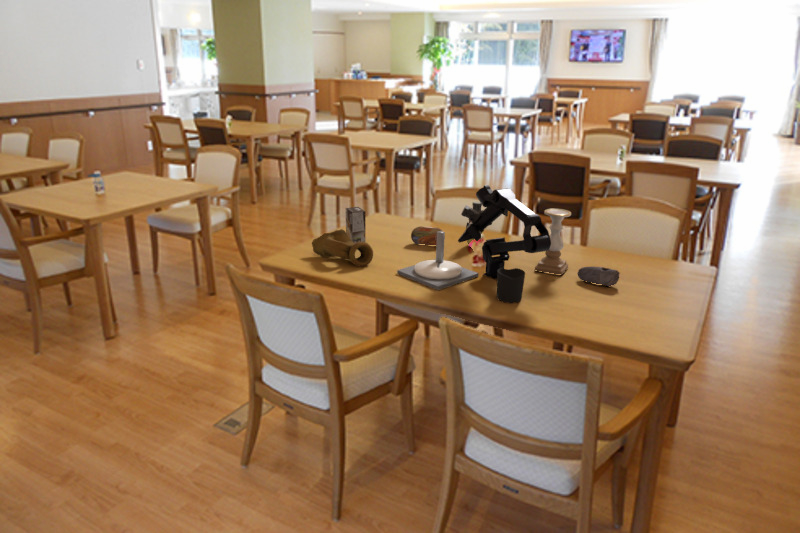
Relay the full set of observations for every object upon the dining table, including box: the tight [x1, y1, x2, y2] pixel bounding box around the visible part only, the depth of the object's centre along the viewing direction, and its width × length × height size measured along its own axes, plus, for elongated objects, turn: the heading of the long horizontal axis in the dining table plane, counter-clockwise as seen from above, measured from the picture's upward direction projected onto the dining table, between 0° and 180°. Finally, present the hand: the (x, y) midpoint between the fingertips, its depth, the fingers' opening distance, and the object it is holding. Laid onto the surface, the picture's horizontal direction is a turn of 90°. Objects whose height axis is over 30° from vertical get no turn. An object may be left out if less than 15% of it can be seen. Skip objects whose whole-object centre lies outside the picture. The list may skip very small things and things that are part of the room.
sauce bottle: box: [466, 201, 483, 244], centre depth 262 cm, size 7×6×20 cm
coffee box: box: [345, 206, 367, 243], centre depth 261 cm, size 9×6×16 cm
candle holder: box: [534, 208, 572, 276], centre depth 234 cm, size 11×11×24 cm
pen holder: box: [496, 268, 526, 304], centre depth 207 cm, size 9×9×10 cm
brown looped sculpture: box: [311, 229, 374, 267], centre depth 243 cm, size 18×13×22 cm
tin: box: [410, 225, 446, 245], centre depth 264 cm, size 15×3×8 cm, turn 73°
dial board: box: [396, 258, 479, 291], centre depth 229 cm, size 22×22×2 cm
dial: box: [414, 230, 462, 280], centre depth 226 cm, size 18×18×14 cm
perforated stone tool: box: [577, 266, 621, 287], centre depth 223 cm, size 15×5×7 cm, turn 54°
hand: (458, 241), depth 230 cm, fingers closed
